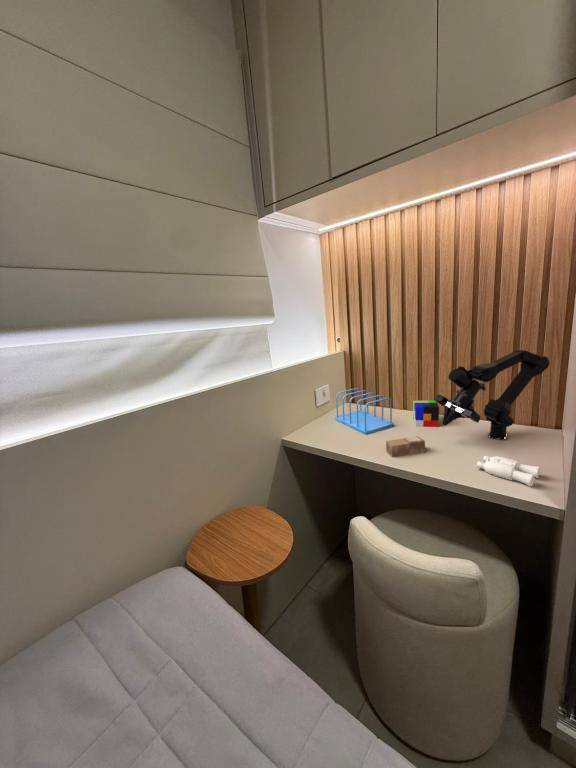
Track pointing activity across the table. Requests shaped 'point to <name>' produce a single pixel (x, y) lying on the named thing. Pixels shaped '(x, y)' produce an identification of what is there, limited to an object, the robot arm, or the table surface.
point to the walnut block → (405, 446)
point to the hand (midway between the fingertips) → (443, 424)
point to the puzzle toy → (425, 413)
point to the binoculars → (509, 469)
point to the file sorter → (364, 415)
